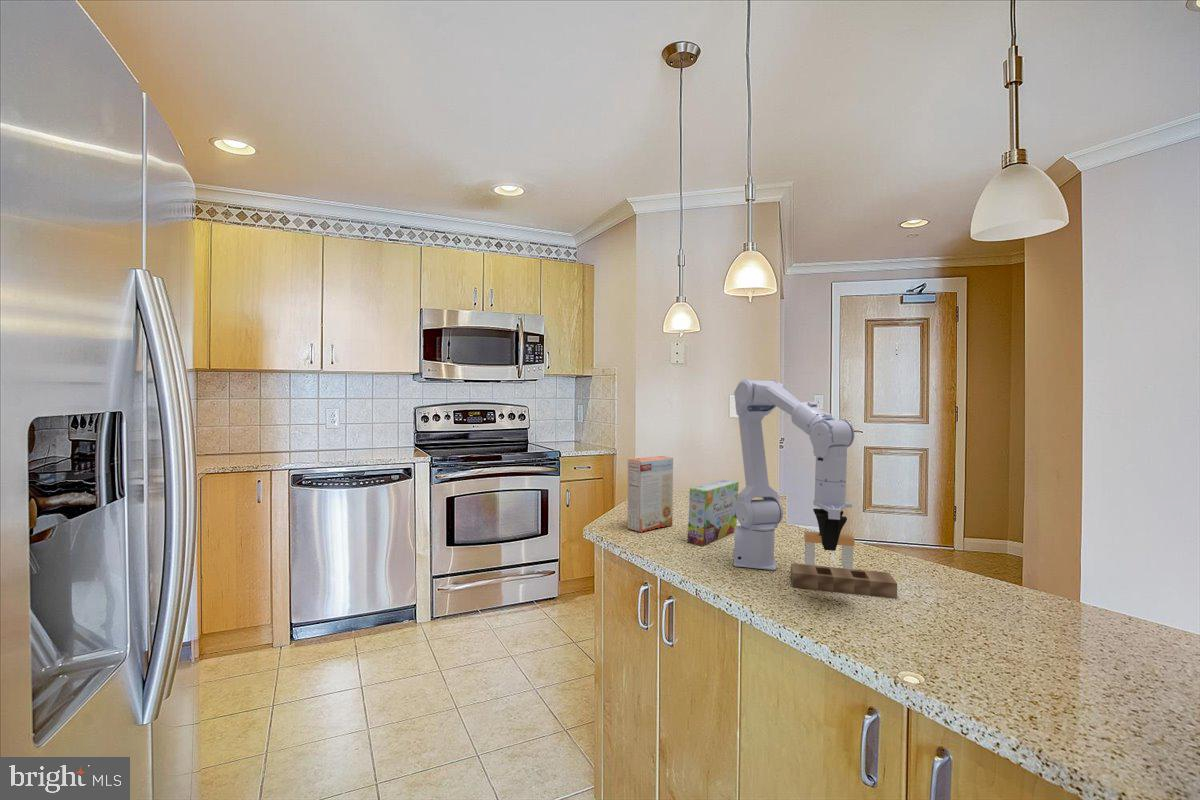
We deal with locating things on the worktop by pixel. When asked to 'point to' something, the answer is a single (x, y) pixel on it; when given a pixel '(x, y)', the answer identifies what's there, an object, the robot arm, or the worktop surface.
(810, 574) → the brown wooden peg board
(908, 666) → the worktop surface
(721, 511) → the snack box
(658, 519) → the cracker box
